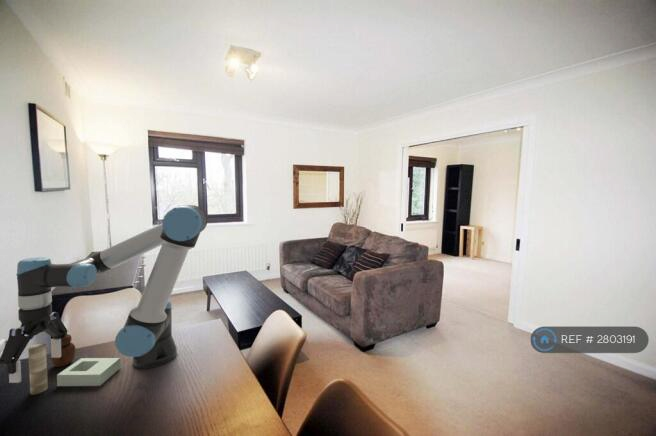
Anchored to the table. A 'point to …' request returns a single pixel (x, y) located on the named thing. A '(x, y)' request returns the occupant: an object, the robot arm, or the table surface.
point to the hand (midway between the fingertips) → (37, 368)
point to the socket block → (88, 372)
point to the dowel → (38, 368)
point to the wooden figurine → (65, 352)
